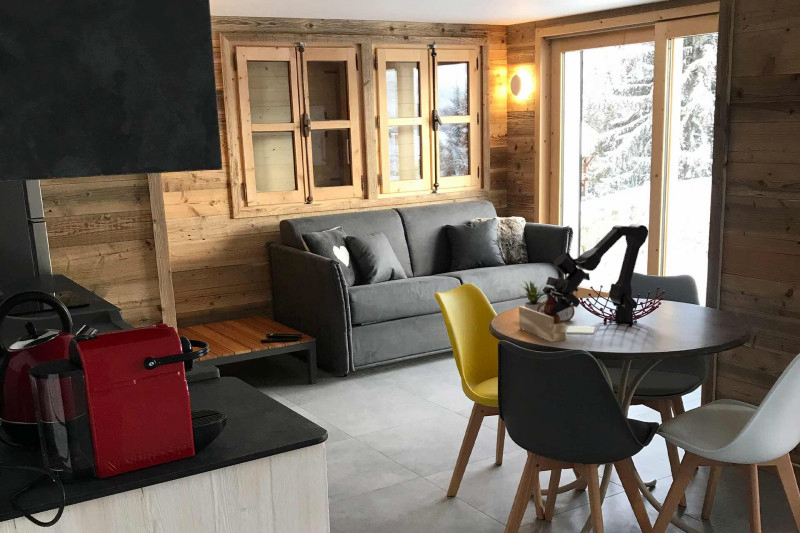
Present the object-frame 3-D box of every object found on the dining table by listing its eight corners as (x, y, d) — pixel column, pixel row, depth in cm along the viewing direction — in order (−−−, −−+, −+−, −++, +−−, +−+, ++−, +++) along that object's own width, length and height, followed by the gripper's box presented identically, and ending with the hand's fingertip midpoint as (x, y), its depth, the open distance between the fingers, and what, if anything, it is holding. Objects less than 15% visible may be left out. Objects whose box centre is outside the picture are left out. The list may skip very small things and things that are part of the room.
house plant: (507, 317, 332) (506, 279, 330) (532, 312, 339) (532, 275, 336) (528, 322, 320) (527, 283, 317) (554, 317, 326) (554, 279, 324)
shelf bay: (533, 326, 312) (532, 304, 311) (565, 339, 290) (565, 315, 289) (519, 328, 310) (518, 306, 309) (551, 341, 288) (550, 317, 287)
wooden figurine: (561, 331, 303) (560, 292, 301) (559, 334, 298) (558, 295, 295) (543, 330, 305) (542, 292, 303) (541, 334, 300) (540, 295, 298)
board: (595, 328, 305) (595, 326, 305) (593, 334, 296) (593, 332, 296) (568, 327, 308) (568, 326, 308) (566, 333, 299) (566, 332, 299)
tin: (574, 320, 321) (574, 299, 320) (575, 321, 318) (574, 301, 317) (537, 320, 323) (536, 300, 322) (537, 322, 320) (537, 302, 318)
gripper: (546, 265, 308) (522, 296, 306) (572, 272, 290) (546, 304, 288) (564, 283, 312) (540, 314, 310) (590, 290, 294) (565, 323, 292)
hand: (547, 313), depth 300 cm, fingers closed on wooden figurine, 5 cm apart
